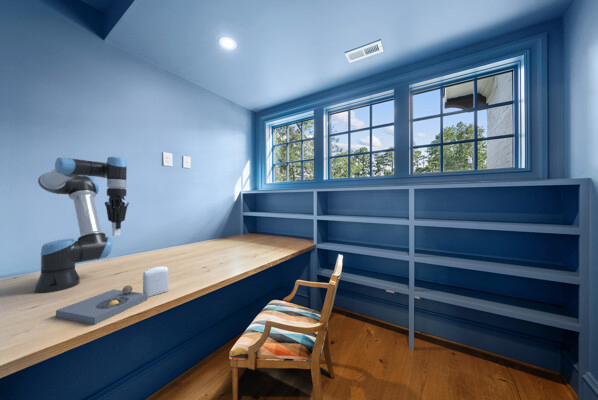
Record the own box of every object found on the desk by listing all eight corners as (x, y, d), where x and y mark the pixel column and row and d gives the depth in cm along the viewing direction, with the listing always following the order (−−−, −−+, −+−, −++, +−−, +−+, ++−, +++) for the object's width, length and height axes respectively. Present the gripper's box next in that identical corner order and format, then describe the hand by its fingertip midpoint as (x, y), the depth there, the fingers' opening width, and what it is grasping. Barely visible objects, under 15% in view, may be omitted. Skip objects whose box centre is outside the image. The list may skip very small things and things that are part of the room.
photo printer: (144, 298, 97) (144, 271, 97) (141, 296, 99) (141, 269, 99) (169, 291, 104) (170, 265, 105) (166, 289, 107) (166, 264, 107)
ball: (104, 306, 86) (108, 300, 86) (113, 303, 89) (117, 296, 89) (109, 313, 85) (113, 306, 85) (118, 309, 89) (122, 302, 88)
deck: (55, 316, 81) (55, 310, 81) (113, 294, 101) (113, 289, 101) (94, 324, 76) (94, 317, 76) (147, 299, 96) (147, 294, 96)
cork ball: (120, 294, 95) (120, 286, 95) (128, 291, 98) (128, 283, 98) (126, 295, 94) (126, 287, 94) (134, 292, 97) (134, 284, 97)
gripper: (98, 188, 106) (98, 235, 106) (118, 187, 103) (118, 237, 103) (115, 188, 114) (114, 233, 114) (134, 188, 110) (133, 234, 110)
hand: (116, 235), depth 108 cm, fingers closed
